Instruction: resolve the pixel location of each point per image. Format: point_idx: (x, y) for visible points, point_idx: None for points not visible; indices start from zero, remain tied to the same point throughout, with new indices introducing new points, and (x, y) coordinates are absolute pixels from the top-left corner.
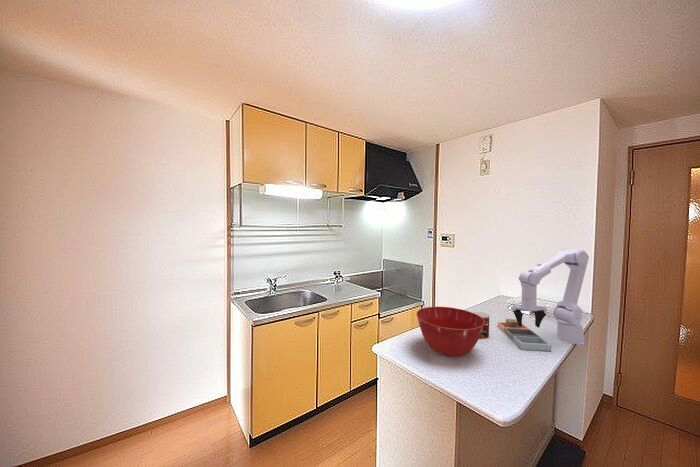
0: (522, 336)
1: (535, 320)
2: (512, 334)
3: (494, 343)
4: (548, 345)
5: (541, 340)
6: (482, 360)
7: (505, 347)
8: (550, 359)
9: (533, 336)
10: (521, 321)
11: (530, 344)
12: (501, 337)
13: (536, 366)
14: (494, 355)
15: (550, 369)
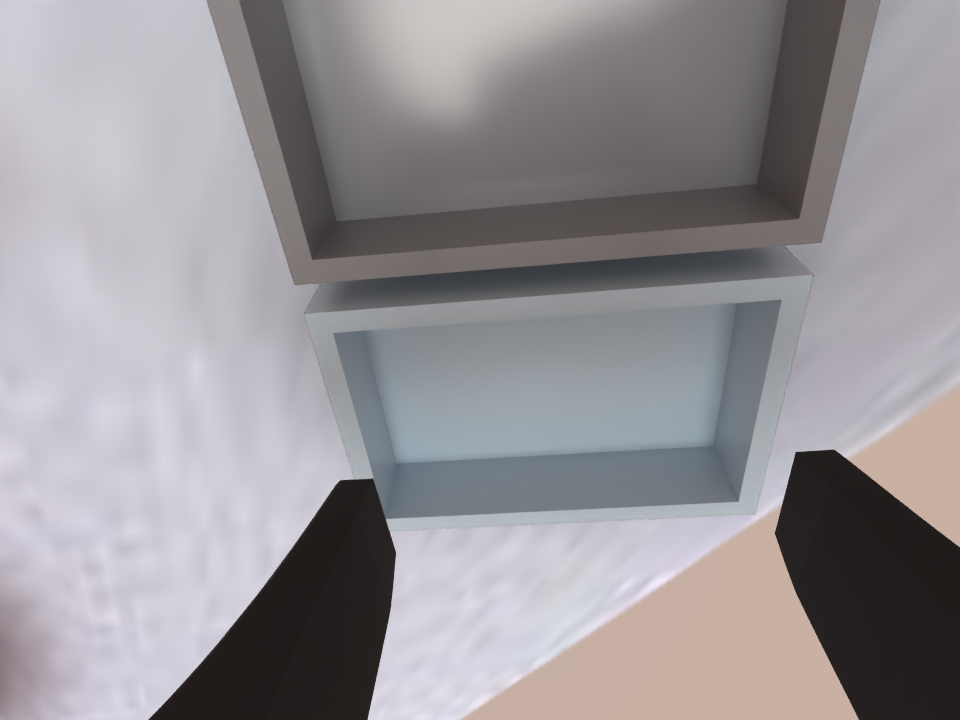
0: (469, 316)
1: (896, 567)
2: (307, 262)
3: (85, 369)
4: (716, 507)
5: (759, 327)
6: (45, 660)
7: (220, 444)
8: (599, 580)
9: (694, 250)
10: (359, 712)
11: (488, 517)
12: (166, 107)
13: (424, 668)
14: (121, 594)
15: (508, 682)
